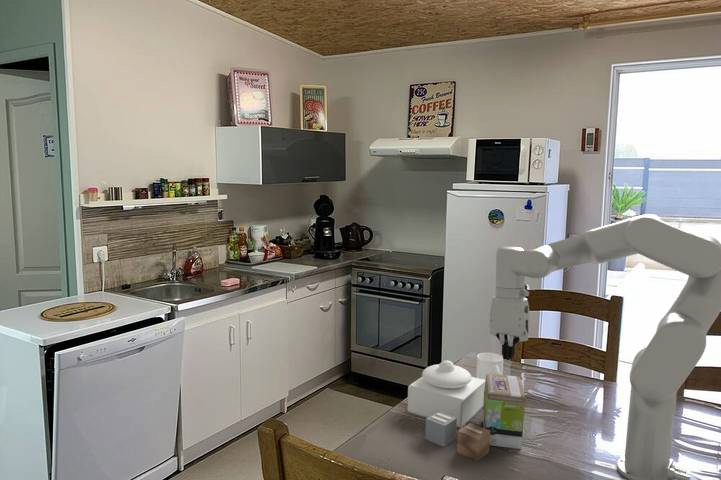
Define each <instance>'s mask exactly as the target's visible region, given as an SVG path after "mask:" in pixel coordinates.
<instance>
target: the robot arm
mask: <svg viewBox="0 0 721 480" xmlns="http://www.w3.org/2000/svg"><path fill="white" fill-rule="evenodd" d="M638 254H639V255H640V256H642V257H645V258H647V259H649V260H651V261H653V262H656V263H658V264H660V265H663V266H665V267H668V268H670V269H672V270H675V271H676V272H679V273H682V274H684V275H687V276H688V278H687V281H686V282H685V285H684V287H683V288H682V289H681V291H680V293H679V295H678V297H677V298H676V299H675V300H674V302H673V304H672V305H671V307H670V308H669V310H668V311H667V312H666V313H665V315H664V316H663V317H662V318H661V319H660V321H659V323H658V324H657V328H656V331H655V333H654V335H653V336H652V338H651V340H650V341H649V343H648V344H647V346H646V347H644V348H642V349H641V350H640V351H638V352H637V353H636V354H635V356H634V358H633V359H632V360H633V361H632V364H631V367H630V371H629V383H630V393H629V394H630V397H629V404H628V405H629V406H628V407H629V408H628V415H627V417H628V418H627V428H626V438H625V451H624V456H621V457H620V458H619V459H618V460H617V463H616V468H617V470H618V472H619V473H620V475H622V476H623V477H625V478H626V479H627V480H691V475H689V474H687V470H686V469H683V468H679V467H676V465H674V459H673V458H671V451H672V441H673V432H674V424H675V423H674V422H675V416H676V415H675V414H676V406H677V405H676V403H677V395H678V394H677V393H678V391H679V390H680V388H681V386H682V385H683V383H684V382H685V381H686V380H687V378H688V377H689V376H690V374H691V372H692V371H693V370H694V368H695V367H696V366H697V364H698V363H699V361H700V360H701V358H702V356H703V354H704V352H705V350H706V347H707V334H708V332H709V330H710V329H711V327H712V325H713V324H714V322H715V320H717V318H718V316H719V314H721V242H720V241H719V240H717V238H715V237H713V236H711V235H710V234H704V233H700V234H699V233H698V234H694V233H692V232H688V231H686V230H683V229H681V228H679V227H677V226H673V225H672V224H669V223H667V222H665V221H664V219H662V218H661V217H660V216H658V215H656V214H652V213H651V214H650V213H646V214H641V215H637V216H634V217H631V218H627V219H624V220H621V221H617V222H615V223H614V222H612V223H611V224H607V225H603V226H601V227H597V228H593V229H590V230H587V231H584V232H582V233H580V234H578V235H575V236H571V237H567V238H564V239H560V240H558V241H555V242H551V243H547V244H544V245H541V246H539V247H536V248H534V249H533V248H532V249H527V250H525V249H523V247H520V246H501V247H498V248H497V250H496V254H495V256H496V257H495V259H496V260H495V288H494V289H495V293H494V295H493V296H492V299H491V305H490V309H489V321H488V322H489V323H488V325H489V326H488V327H489V334H490V335H492V336H494V337H496V338H497V339H498V341H499V344H500V345H501V356H502V357H503V360H506V361H510V360H512V359H514V357H515V350H516V348H515V347H516V344H517V343H519V342H526V341H528V340H529V335H528V334H529V333H530V332H531V331H530V330H531V319H530V318H531V317H530V316H531V315H530V306H529V305H530V304H529V301H528V298H526V297H529V295H530V291H529V290H526V287H525V285H526V283H525V281H526V279H525V278H526V277H527V278H530V279H544V278H546V277H548V276H549V275H550V274H551V273H553V272H556V271H560V270H563V269H567V268H570V267H575V266H579V265H585V264H593V265H597V264H599V265H600V264H604V263H605V264H606V263H607V262H611V261H615V260H619V259H622V258H627V257H630V256H634V255H635V256H636V255H638Z"/></svg>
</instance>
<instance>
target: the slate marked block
mask: <svg viewBox="0 0 721 480" xmlns="http://www.w3.org/2000/svg"><path fill="white" fill-rule="evenodd" d="M457 428H458V427H457V418H455V417H452V416H450V415H447V414H444V413H442V412H439V411H438V412H436V413H435V414H433V415H431V416H430V417H428V418H427V417H425V440H427V441H428V442H431V443H434V444H437V446H441V447H444V448H445V447H446V446H448V445H449V444H450V443H452V442H454V441H455V440H457Z"/></svg>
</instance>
